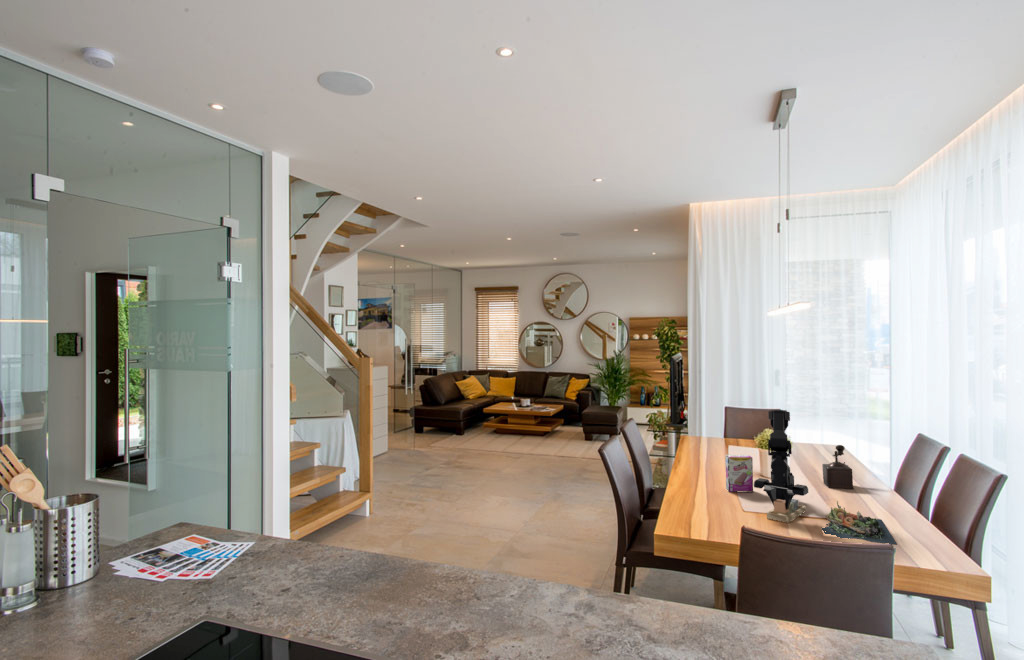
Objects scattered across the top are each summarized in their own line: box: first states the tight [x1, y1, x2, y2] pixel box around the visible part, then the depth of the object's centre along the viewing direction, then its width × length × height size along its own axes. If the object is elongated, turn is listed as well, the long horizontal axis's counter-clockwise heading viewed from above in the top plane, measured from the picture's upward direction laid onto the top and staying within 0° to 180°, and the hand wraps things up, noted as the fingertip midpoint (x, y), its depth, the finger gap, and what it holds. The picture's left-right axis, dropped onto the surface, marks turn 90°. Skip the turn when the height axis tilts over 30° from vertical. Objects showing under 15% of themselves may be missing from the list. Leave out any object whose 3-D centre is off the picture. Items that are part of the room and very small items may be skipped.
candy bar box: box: [724, 454, 754, 493], centre depth 252 cm, size 11×5×16 cm, turn 84°
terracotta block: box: [773, 499, 789, 514], centre depth 213 cm, size 4×4×4 cm
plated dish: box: [820, 500, 898, 546], centre depth 201 cm, size 35×28×7 cm
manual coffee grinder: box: [821, 444, 854, 490], centre depth 259 cm, size 16×11×18 cm
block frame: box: [766, 498, 807, 524], centre depth 217 cm, size 19×8×5 cm, turn 133°
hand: (781, 508), depth 213 cm, fingers open, 4 cm apart
